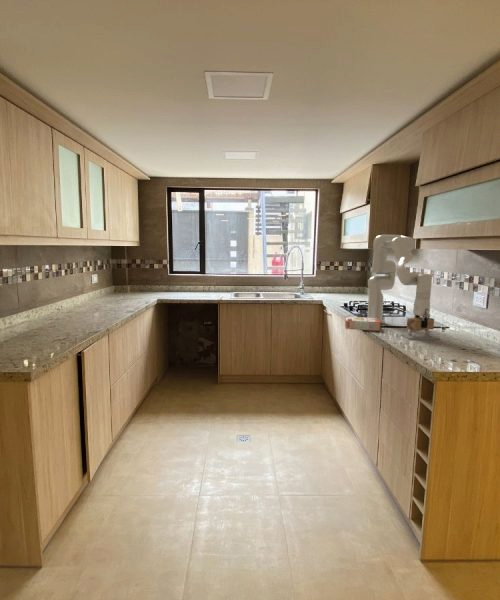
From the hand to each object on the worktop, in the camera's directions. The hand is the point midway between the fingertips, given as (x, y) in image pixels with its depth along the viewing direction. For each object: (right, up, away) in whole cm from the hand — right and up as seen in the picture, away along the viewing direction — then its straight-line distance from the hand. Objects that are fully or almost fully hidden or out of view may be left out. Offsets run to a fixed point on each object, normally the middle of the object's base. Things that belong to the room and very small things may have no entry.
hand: (420, 326), depth 213 cm
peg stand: (0, -7, +1) cm, 7 cm away
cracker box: (-16, 0, +21) cm, 26 cm away
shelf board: (0, -2, 0) cm, 2 cm away
